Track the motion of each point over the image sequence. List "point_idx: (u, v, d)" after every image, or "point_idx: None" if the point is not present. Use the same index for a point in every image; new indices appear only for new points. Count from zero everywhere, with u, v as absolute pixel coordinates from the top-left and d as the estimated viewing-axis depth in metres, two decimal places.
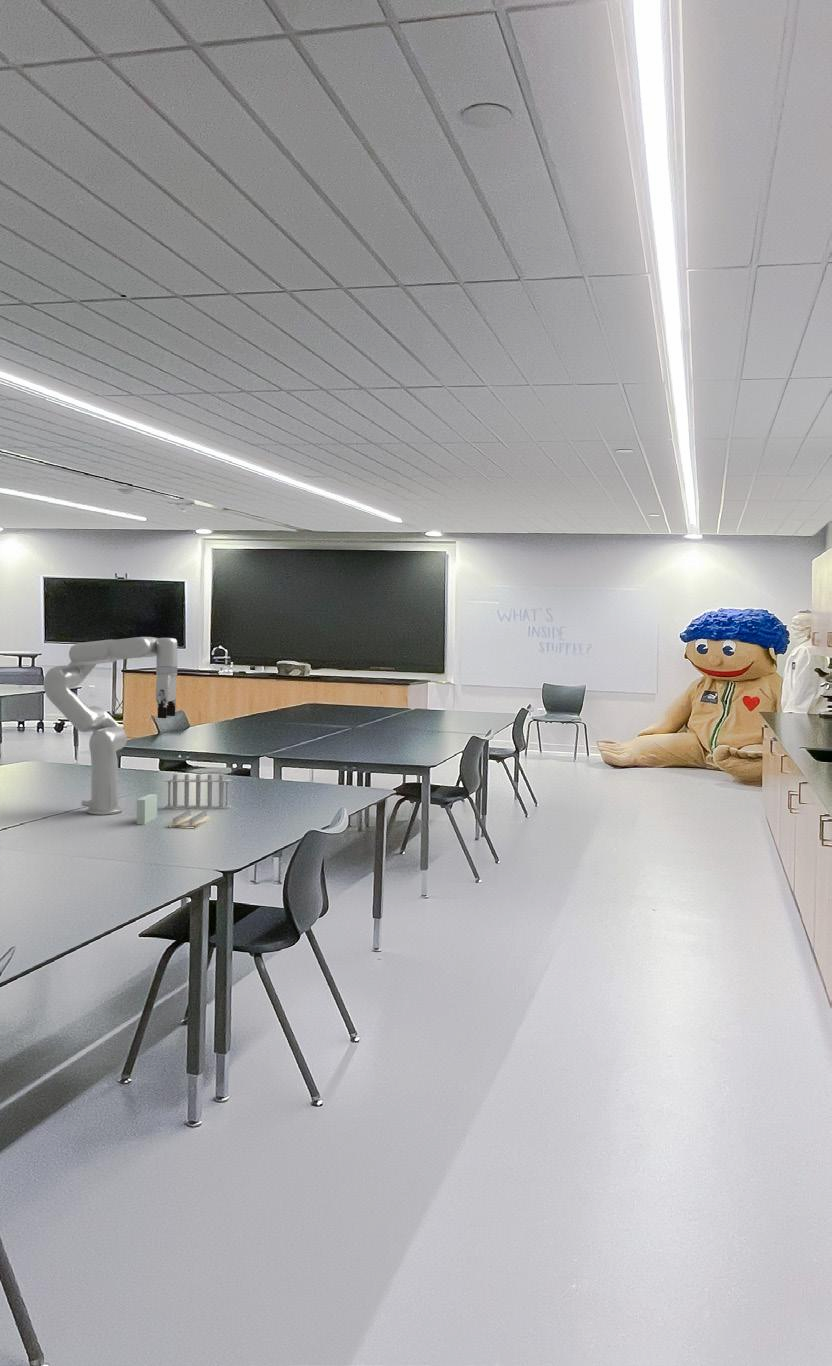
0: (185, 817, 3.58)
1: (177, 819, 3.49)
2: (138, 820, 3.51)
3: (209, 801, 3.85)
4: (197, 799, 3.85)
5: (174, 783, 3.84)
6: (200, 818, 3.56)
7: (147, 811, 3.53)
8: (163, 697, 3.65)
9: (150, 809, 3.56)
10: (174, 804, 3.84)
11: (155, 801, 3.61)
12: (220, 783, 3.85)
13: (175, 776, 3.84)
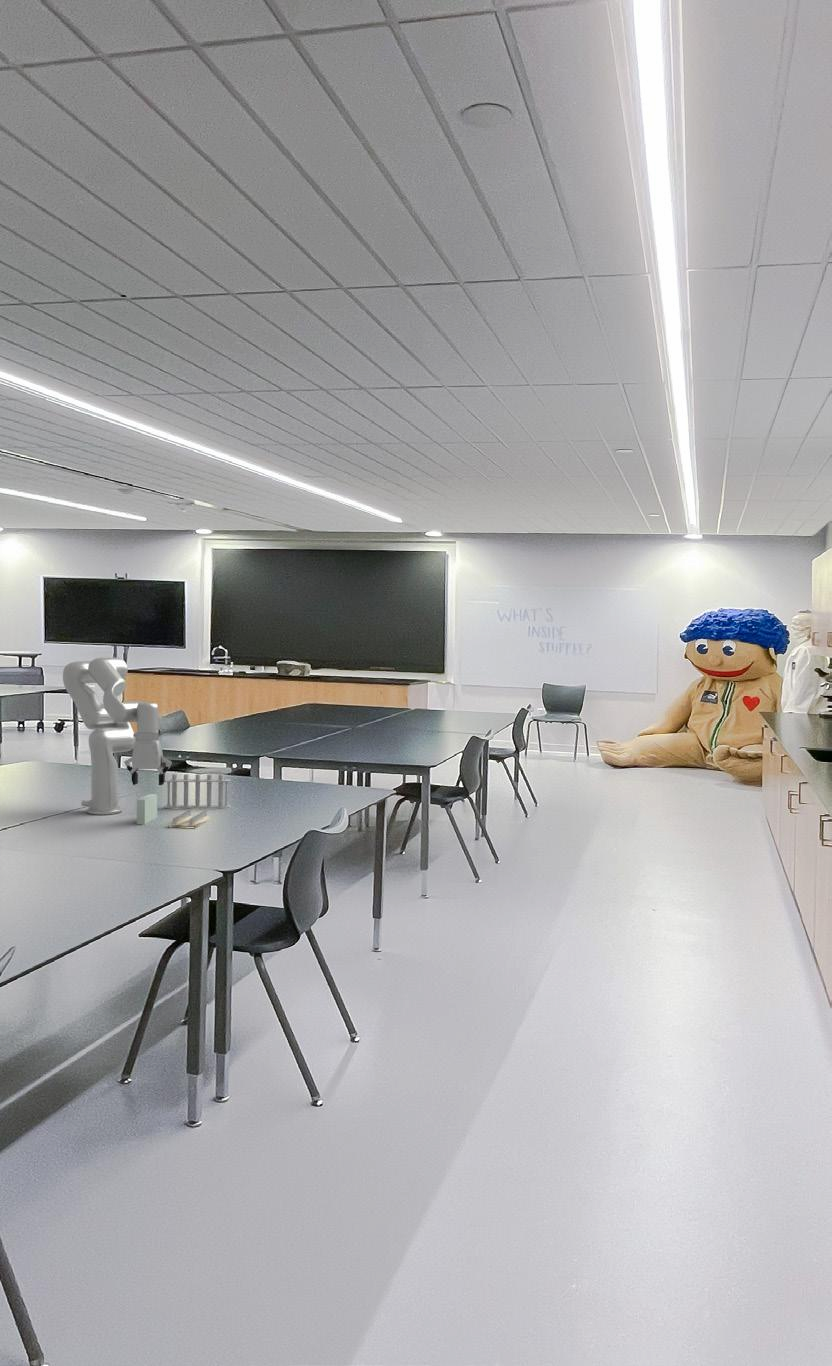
0: (185, 817, 3.58)
1: (177, 819, 3.49)
2: (138, 820, 3.51)
3: (208, 801, 3.85)
4: (196, 799, 3.85)
5: (173, 783, 3.84)
6: (200, 818, 3.56)
7: (147, 811, 3.53)
8: None
9: (150, 809, 3.56)
10: (173, 804, 3.84)
11: (155, 801, 3.61)
12: (219, 783, 3.86)
13: (174, 776, 3.83)
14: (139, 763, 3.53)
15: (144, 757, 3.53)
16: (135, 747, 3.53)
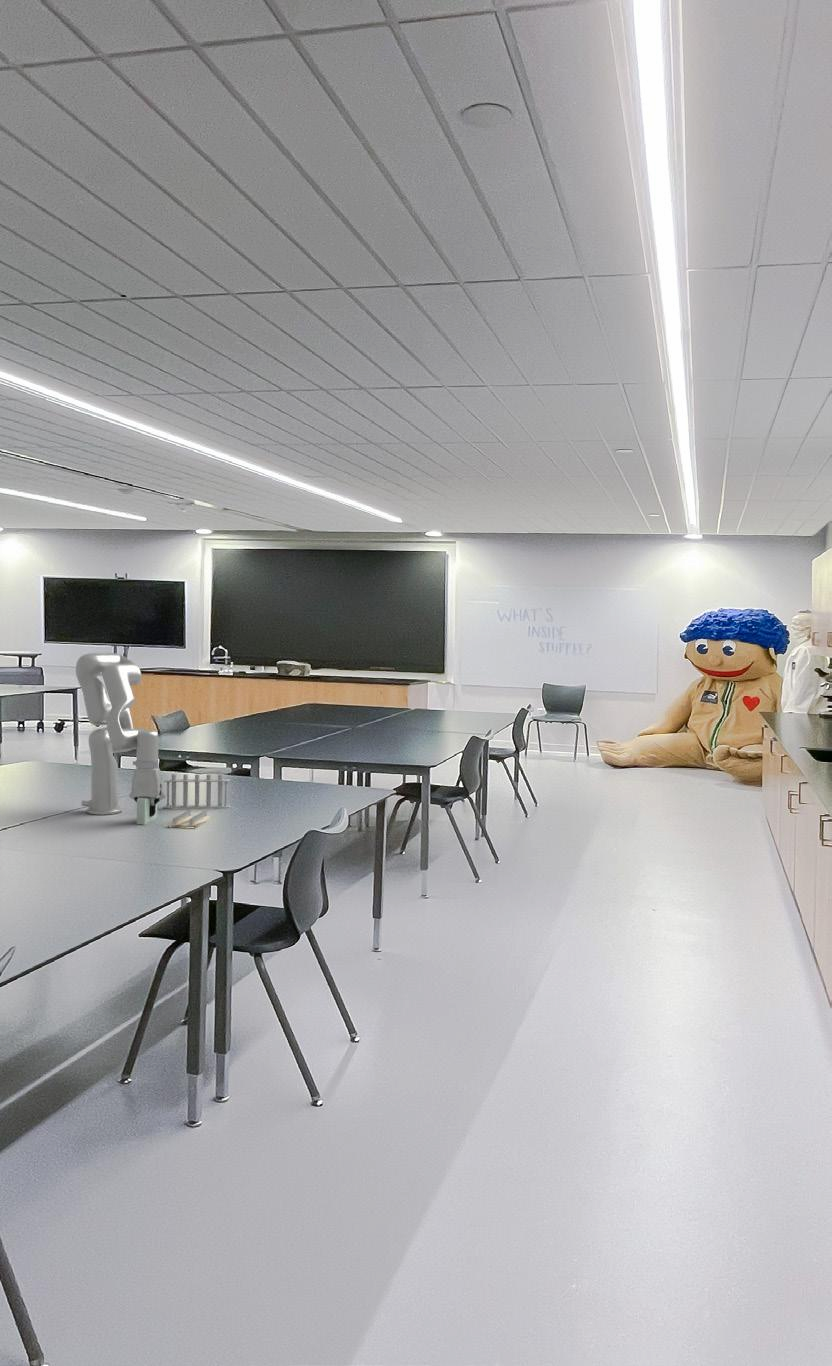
0: (185, 817, 3.58)
1: (177, 819, 3.49)
2: (138, 820, 3.51)
3: (208, 801, 3.85)
4: (196, 799, 3.85)
5: (173, 783, 3.83)
6: (200, 818, 3.56)
7: (147, 811, 3.53)
8: None
9: None
10: (172, 804, 3.84)
11: None
12: (219, 783, 3.86)
13: (174, 776, 3.83)
14: (138, 791, 3.54)
15: (143, 785, 3.53)
16: (134, 775, 3.54)
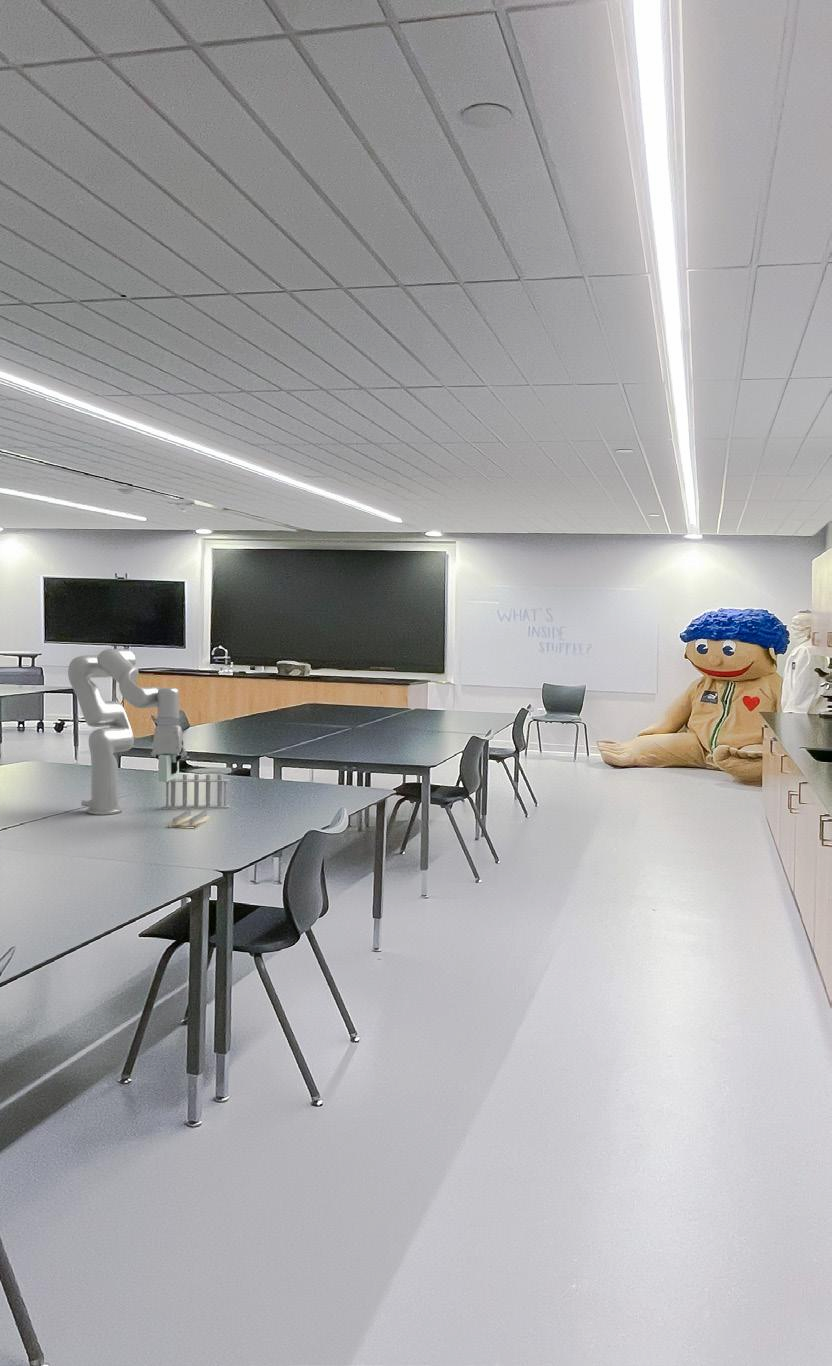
0: (185, 817, 3.58)
1: (177, 819, 3.49)
2: (159, 776, 3.49)
3: (207, 801, 3.86)
4: (195, 799, 3.85)
5: (172, 783, 3.83)
6: (200, 818, 3.56)
7: (169, 768, 3.51)
8: None
9: None
10: (172, 805, 3.84)
11: None
12: (218, 783, 3.86)
13: None
14: (160, 748, 3.52)
15: (165, 742, 3.52)
16: (156, 732, 3.52)
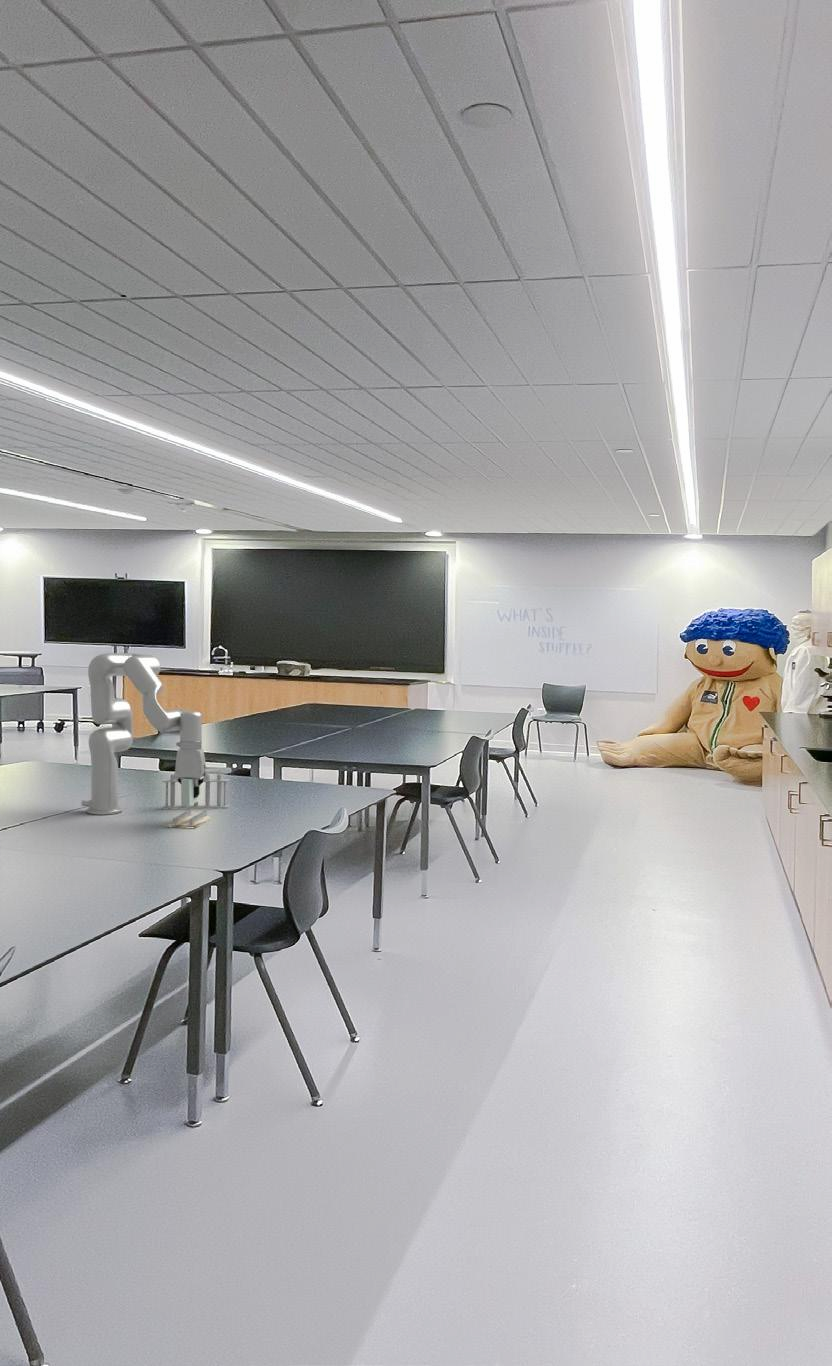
0: (185, 817, 3.58)
1: (177, 819, 3.49)
2: (182, 801, 3.49)
3: (207, 801, 3.86)
4: None
5: (172, 783, 3.83)
6: (200, 818, 3.56)
7: (192, 792, 3.51)
8: None
9: None
10: (171, 805, 3.84)
11: None
12: (218, 783, 3.86)
13: None
14: (182, 772, 3.52)
15: (187, 766, 3.51)
16: (178, 756, 3.52)
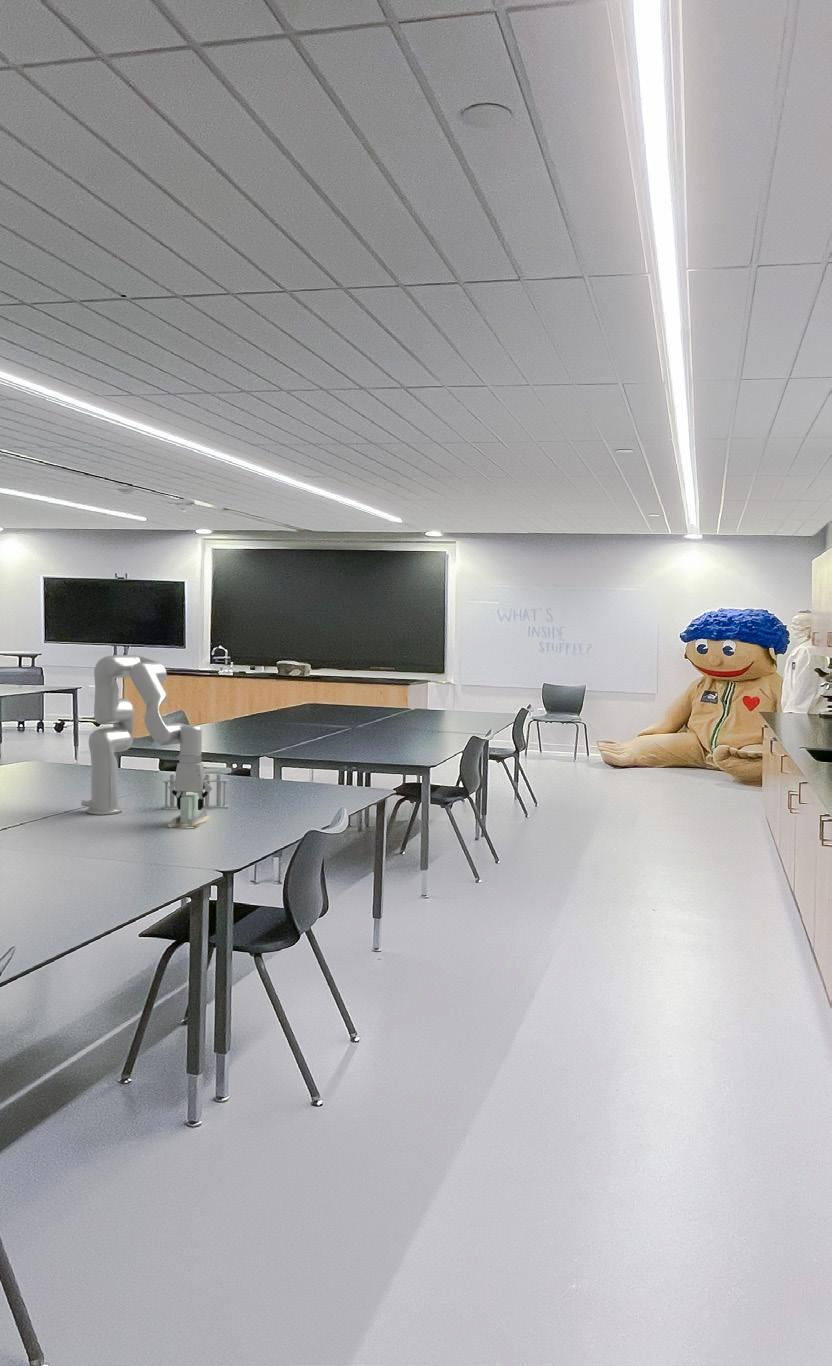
0: None
1: (177, 819, 3.49)
2: (181, 819, 3.49)
3: (207, 801, 3.86)
4: None
5: (171, 783, 3.83)
6: (200, 818, 3.56)
7: (191, 810, 3.52)
8: None
9: (194, 808, 3.54)
10: (171, 805, 3.84)
11: None
12: (218, 783, 3.86)
13: (172, 776, 3.83)
14: (182, 786, 3.52)
15: (187, 780, 3.52)
16: (178, 770, 3.52)
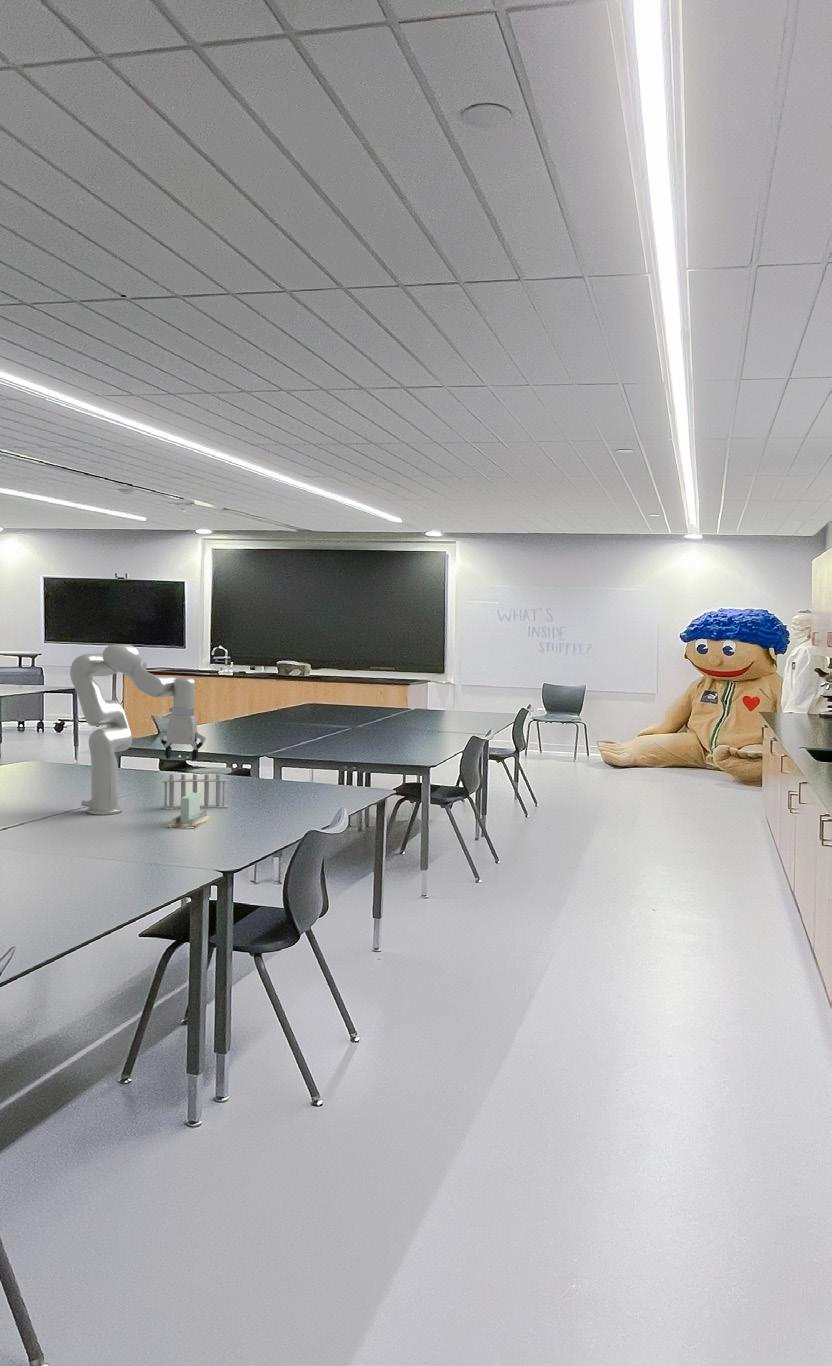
0: None
1: (177, 819, 3.49)
2: (181, 819, 3.49)
3: (206, 801, 3.86)
4: None
5: (171, 783, 3.83)
6: (200, 818, 3.56)
7: (191, 810, 3.52)
8: None
9: (194, 808, 3.54)
10: (170, 805, 3.83)
11: (198, 800, 3.59)
12: (217, 783, 3.86)
13: (172, 776, 3.83)
14: (173, 738, 3.55)
15: (179, 732, 3.55)
16: (170, 722, 3.55)
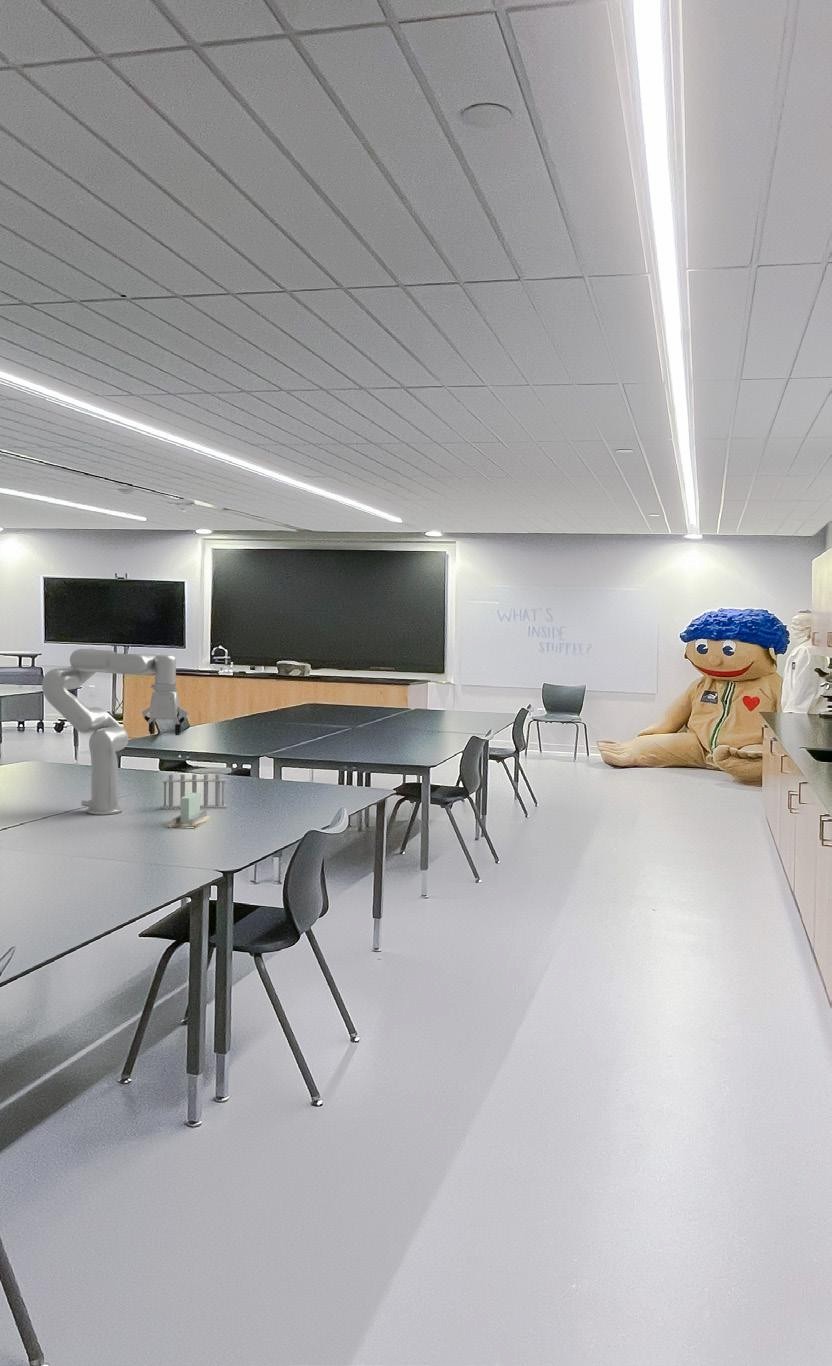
0: None
1: (177, 819, 3.49)
2: (181, 819, 3.49)
3: (205, 801, 3.86)
4: None
5: (170, 783, 3.83)
6: (200, 818, 3.56)
7: (191, 810, 3.52)
8: None
9: (194, 808, 3.54)
10: (170, 805, 3.83)
11: (198, 800, 3.59)
12: (216, 783, 3.86)
13: (171, 776, 3.83)
14: (156, 713, 3.64)
15: (161, 707, 3.64)
16: (153, 698, 3.64)
